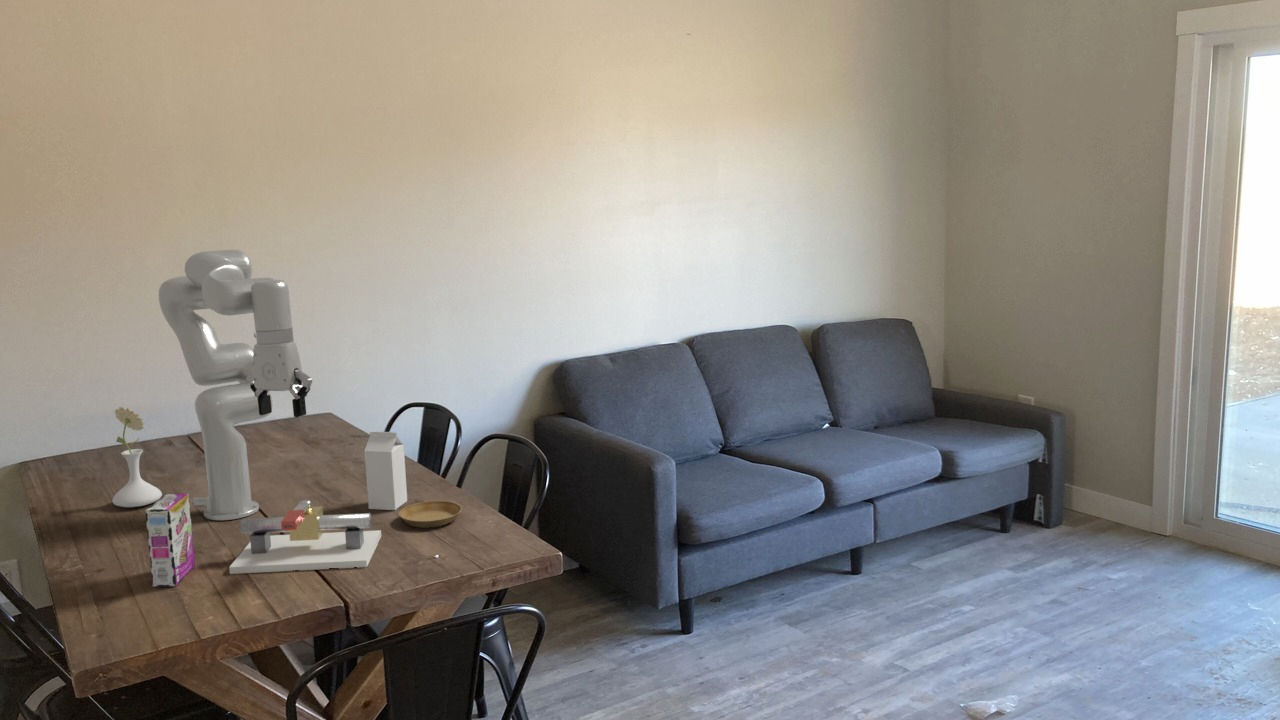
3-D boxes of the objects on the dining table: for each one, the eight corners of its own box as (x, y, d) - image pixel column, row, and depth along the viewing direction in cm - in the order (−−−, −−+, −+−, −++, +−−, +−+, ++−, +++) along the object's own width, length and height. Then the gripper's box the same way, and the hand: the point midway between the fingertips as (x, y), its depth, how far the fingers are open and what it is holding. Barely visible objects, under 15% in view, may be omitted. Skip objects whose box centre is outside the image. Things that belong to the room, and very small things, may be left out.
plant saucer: (408, 510, 244) (407, 500, 244) (467, 510, 244) (467, 500, 243) (392, 532, 230) (391, 521, 229) (455, 531, 229) (454, 520, 229)
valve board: (229, 573, 206) (229, 567, 206) (255, 542, 224) (254, 536, 223) (366, 567, 208) (366, 560, 208) (381, 536, 226) (380, 530, 226)
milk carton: (395, 510, 243) (390, 436, 240) (368, 509, 245) (363, 435, 241) (407, 501, 250) (402, 428, 247) (381, 500, 251) (376, 427, 248)
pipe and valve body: (240, 555, 212) (236, 515, 210) (248, 546, 217) (245, 507, 216) (369, 549, 214) (366, 509, 212) (373, 540, 220) (371, 501, 218)
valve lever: (281, 530, 201) (280, 521, 200) (299, 506, 215) (299, 498, 215) (295, 529, 201) (295, 521, 201) (313, 505, 215) (312, 498, 215)
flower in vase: (170, 502, 253) (159, 407, 248) (123, 514, 244) (111, 416, 240) (149, 492, 261) (139, 400, 257) (103, 503, 253) (91, 408, 249)
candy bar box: (177, 587, 200) (169, 509, 197) (152, 588, 200) (143, 510, 196) (197, 565, 211) (189, 492, 208) (173, 567, 210) (164, 493, 207)
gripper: (231, 339, 213) (239, 416, 216) (293, 340, 207) (301, 420, 209) (256, 334, 220) (264, 409, 223) (318, 335, 213) (325, 413, 216)
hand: (282, 415), depth 216 cm, fingers open, 9 cm apart
